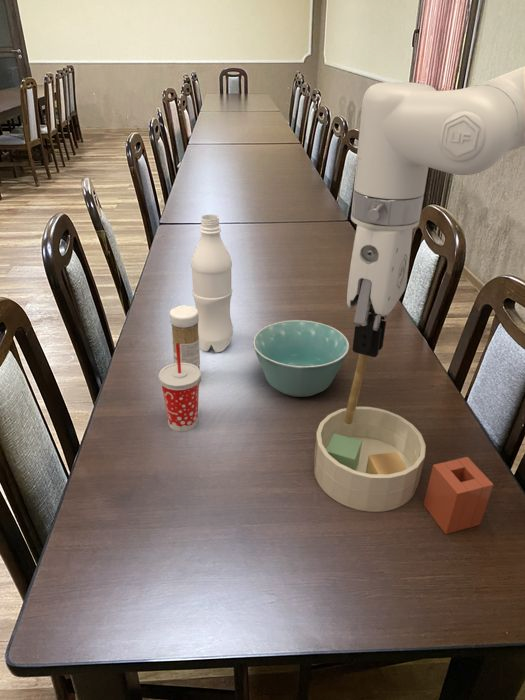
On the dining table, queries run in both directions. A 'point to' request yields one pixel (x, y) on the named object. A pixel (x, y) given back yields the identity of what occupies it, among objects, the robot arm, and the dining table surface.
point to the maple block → (385, 463)
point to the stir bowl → (377, 438)
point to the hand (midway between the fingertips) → (367, 349)
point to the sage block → (345, 450)
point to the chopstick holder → (457, 494)
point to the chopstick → (356, 387)
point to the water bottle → (212, 287)
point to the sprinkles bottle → (186, 334)
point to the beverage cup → (181, 393)
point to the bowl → (300, 356)
